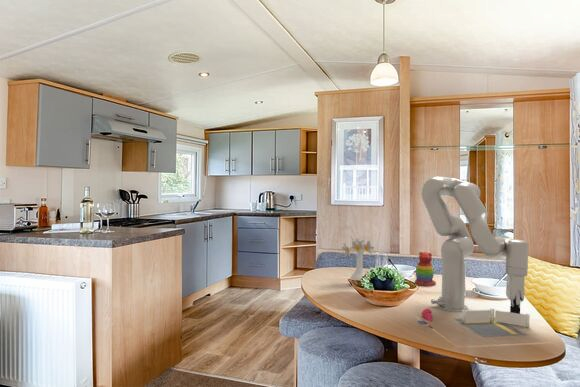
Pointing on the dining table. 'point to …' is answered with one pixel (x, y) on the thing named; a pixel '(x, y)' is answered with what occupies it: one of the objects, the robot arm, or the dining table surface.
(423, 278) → the stacking bear
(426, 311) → the toy pieces
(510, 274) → the robot arm
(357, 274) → the flower vase
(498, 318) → the fence gate
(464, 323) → the fence base
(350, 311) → the dining table surface
